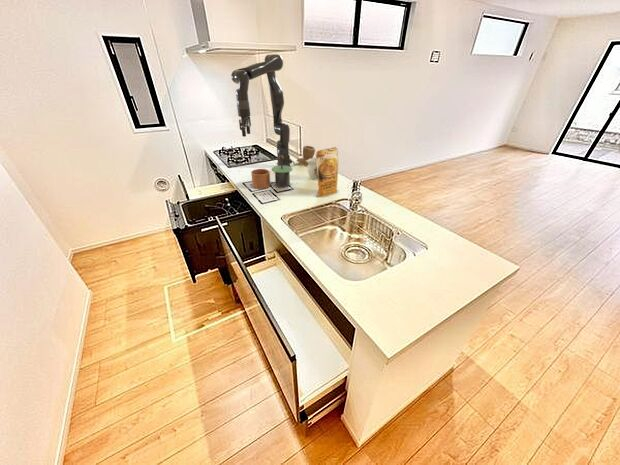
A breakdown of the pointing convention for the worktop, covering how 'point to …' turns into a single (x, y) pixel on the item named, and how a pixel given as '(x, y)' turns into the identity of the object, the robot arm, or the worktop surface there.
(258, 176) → the clay pot
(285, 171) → the lid
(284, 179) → the cup
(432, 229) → the worktop surface
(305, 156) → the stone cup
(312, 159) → the pitcher
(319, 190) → the pancake mix bag
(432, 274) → the worktop surface
